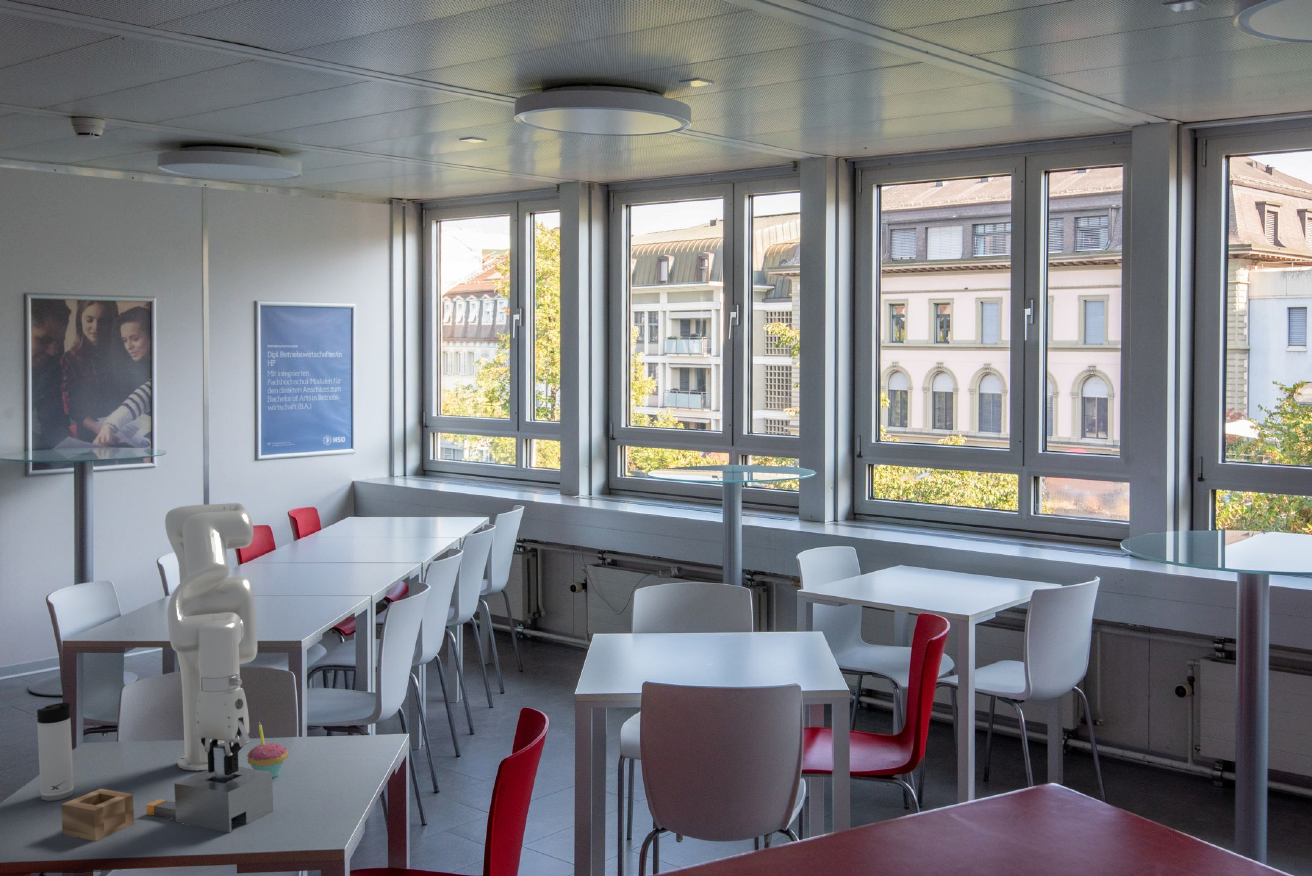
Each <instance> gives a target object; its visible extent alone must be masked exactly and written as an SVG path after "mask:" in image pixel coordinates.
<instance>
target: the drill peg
mask: <svg viewBox="0 0 1312 876" xmlns="http://www.w3.org/2000/svg"><path fill="white" fill-rule="evenodd" d="M231 746H232V744H231ZM213 753H214V782H218V783H226V782H228V781H230V780H233V774H231V775H228V776H227V775H225V772H224V756H226V749H225V743H221V744H217V745H215V746H213Z"/></svg>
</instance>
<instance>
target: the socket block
mask: <svg viewBox="0 0 1312 876" xmlns="http://www.w3.org/2000/svg"><path fill="white" fill-rule="evenodd" d="M238 767H239V770H238V771H237V772H235V773H233V780H230V781H228V782H226V783H218V782H214V772H212V773H209V772H208V769H207V770H201V771H200V772H198V773H196V774H193V775H191V776H189V777H187V778H184V779H181V780H178V781H176V782H174V802H175V808H176V819H175V823H176V824H181V823H184V824H183V825H187V826H192V827H196V828H197V827H198V828H204V829H208V830H209V829H210V830H214V831H219V832H225V833H231V832H232V822H233V823H238V824H243V825H247V824H250V823H252V822H254V821H256V820H258V819H259V818H261V817H264V816H266V815H267V814H269V813H272V812H273V811H274V792H273V790H274V789H273V788H274V787H273V778H272V772H267V771H261V770H254V769H253V768H249V767H248V768H246V767H241V766H238Z"/></svg>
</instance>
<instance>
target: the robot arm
mask: <svg viewBox="0 0 1312 876" xmlns="http://www.w3.org/2000/svg"><path fill="white" fill-rule="evenodd" d="M164 525H165V532H166V535H167V539H168V541H169V543H170V545H171V547H172V550H173V552H174V554H175V556H176V560H177V562H178V569H179V570H178V573H179V575H178V576H179V583H178V584H177V586H176V587H175V589H174V591H173V592H172V594H171V596H170V599H169V601H168V606H167V624H168V626H167V627H168V637H169V643H170V646H171V649H173V651H175V652H176V655H177V660H178V665H179V670H180V678H181V680H180V681H181V690H182V696H181V697H182V716H183V718H182V719H183V737H184V738H183V739H184V741H183V742H184V743H183V744H184V755H182V756H180V758H178V760H177V766H178V768H180V769H181V768H182V770H186V771H205V770H207V769H208V772H209V773H212V772H214V753H213V746H215V745H217V744H221V743H225V749H226V756H224V772H225V775H227V776H228V775H231V774H233V773H235V772H237V771H238V770H239V767H240V766H239V753H240V752H241V750H242V748H243V747H244V746H246V745H247V744H249V743H250V742H251V738H250V735H249V734H250V717H249V710H248V702H247V699H246V694H245V690H244V688H243V687H241V685H243V680H242V679H241V676H240V675H241V674H240V673H241V672H240V670H241V669H240V665H242V664H248V663H251V662H252V661H254V660H255V659H256V656H257V654H258V632H257V631H258V630H257V618H256V617H257V615H256V602H255V592H254V587H253V585H252V582H251V581H250V580H249V579H248V578H247V577H244V576H229V574H230V567H229V562H228V561H229V559H228V553H227V550H231V549H243V548H244V549H245V548H248V547H249V546H250V545H251V544H252V542H253V539H254V525H253V520H252V517H251V515H250V513H249V511H248V510H247V509H246V507H245V506H244V505H243V504H241V503H239V502H231V503H230V502H229V503H226V502H225V503H214V504H213V503H212V504H211V503H210V504H195V505H194V504H193V505H183V506H178V507H175V508H172V509H170V510H169V511H168V512H167V513H166V515H165V519H164ZM231 744H232V746H231Z"/></svg>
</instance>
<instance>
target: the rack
mask: <svg viewBox="0 0 1312 876" xmlns="http://www.w3.org/2000/svg"><path fill="white" fill-rule="evenodd" d="M134 812H135V808H134V794H132V793H127V792H123V791H122V792H121V791H117V790H109V789H104V788H99V789H97V790H93V791H91V792H89V793H88V792H87V793H86V794H84V795H82V796H77V797H76V798H74V799H71V800H68V801H66V802H64V803H61V826H62V835H63V834H64V835H63V836H70V837H74V838H78V837H81V838H80V839H83V840H89V841H93V842H97V841H99V840H101V839H104V838H106V837H108V836H110V835H113V834H114V832H115V833H117V832H119V831H122V830H124V829H126V828H128V827H130V825H131V826H133V825H134V824H135V813H134ZM127 826H128V827H127ZM125 827H126V828H125ZM123 828H124V829H123ZM121 829H122V830H121ZM116 831H117V832H116Z"/></svg>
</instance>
